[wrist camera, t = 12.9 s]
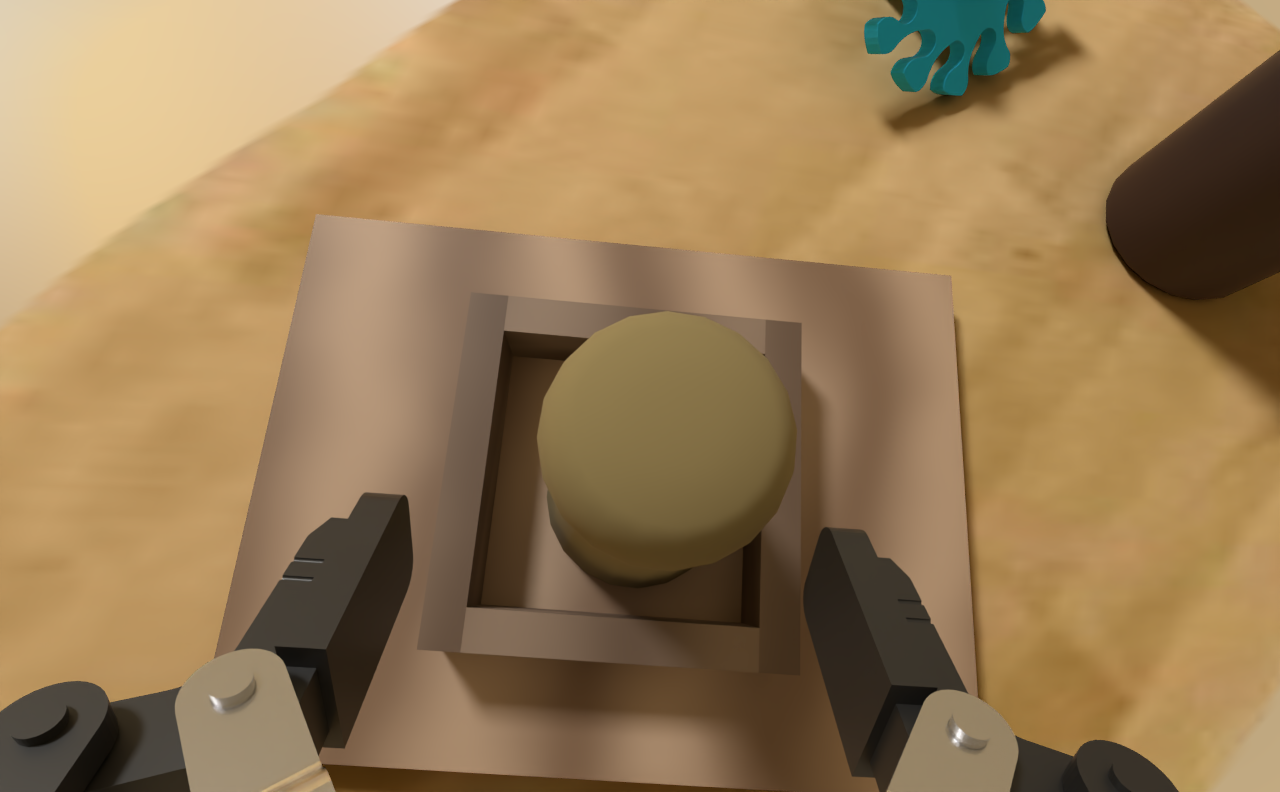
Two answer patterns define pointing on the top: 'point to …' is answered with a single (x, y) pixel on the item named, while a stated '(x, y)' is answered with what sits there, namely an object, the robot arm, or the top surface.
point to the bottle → (1207, 196)
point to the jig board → (519, 518)
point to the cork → (663, 447)
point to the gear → (951, 39)
